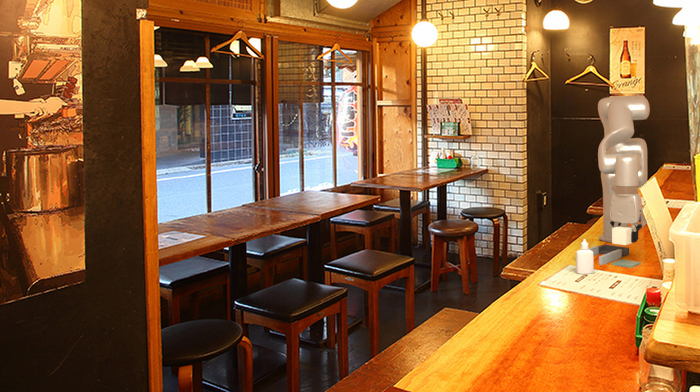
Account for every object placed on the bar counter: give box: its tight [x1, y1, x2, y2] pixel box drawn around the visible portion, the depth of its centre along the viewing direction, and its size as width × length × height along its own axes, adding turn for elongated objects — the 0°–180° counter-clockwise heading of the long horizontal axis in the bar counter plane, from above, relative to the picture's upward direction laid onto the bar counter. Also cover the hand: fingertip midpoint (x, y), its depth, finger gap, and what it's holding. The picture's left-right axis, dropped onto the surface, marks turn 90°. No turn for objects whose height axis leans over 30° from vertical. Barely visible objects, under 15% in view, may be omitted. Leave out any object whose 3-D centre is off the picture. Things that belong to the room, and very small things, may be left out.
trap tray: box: [598, 243, 630, 258], centre depth 229 cm, size 5×10×2 cm, turn 38°
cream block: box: [611, 225, 633, 246], centre depth 210 cm, size 6×5×6 cm
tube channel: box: [588, 245, 623, 266], centre depth 222 cm, size 14×10×3 cm
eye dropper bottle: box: [575, 238, 595, 275], centre depth 205 cm, size 4×6×12 cm
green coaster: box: [611, 258, 642, 269], centre depth 213 cm, size 7×7×1 cm
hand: (626, 240), depth 212 cm, fingers closed on cream block, 5 cm apart
